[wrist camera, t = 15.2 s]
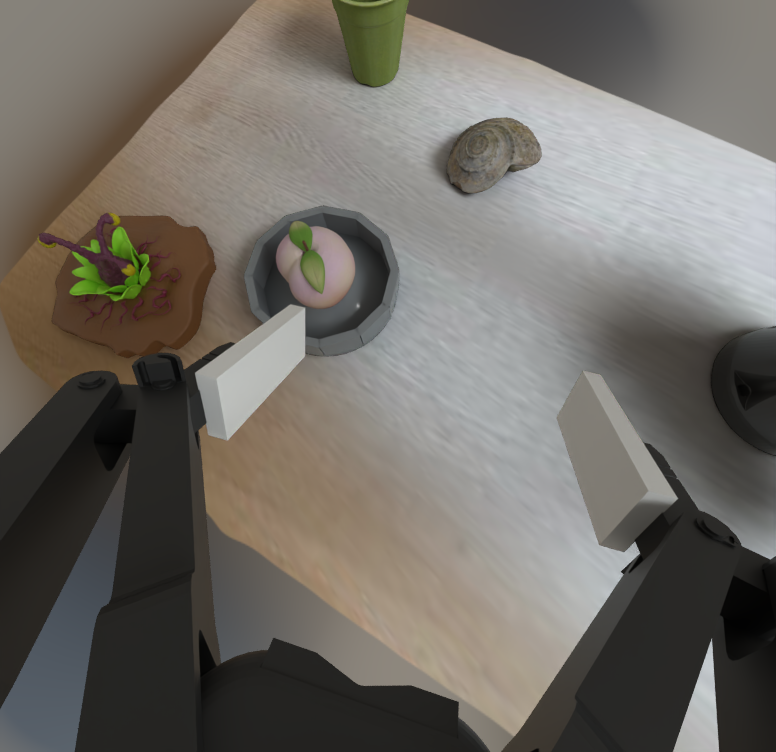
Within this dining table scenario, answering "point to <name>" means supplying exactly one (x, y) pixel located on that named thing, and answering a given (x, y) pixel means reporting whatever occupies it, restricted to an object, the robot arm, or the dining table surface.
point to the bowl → (361, 303)
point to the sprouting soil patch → (133, 283)
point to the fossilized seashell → (491, 153)
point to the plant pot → (372, 37)
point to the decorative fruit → (315, 265)
